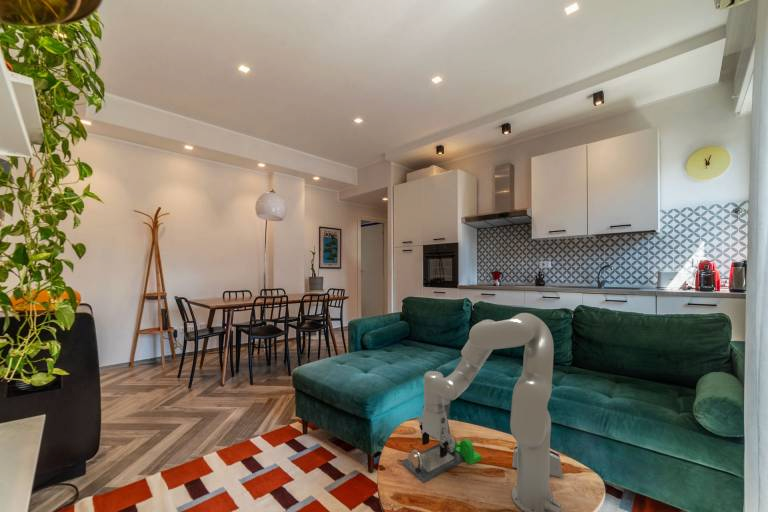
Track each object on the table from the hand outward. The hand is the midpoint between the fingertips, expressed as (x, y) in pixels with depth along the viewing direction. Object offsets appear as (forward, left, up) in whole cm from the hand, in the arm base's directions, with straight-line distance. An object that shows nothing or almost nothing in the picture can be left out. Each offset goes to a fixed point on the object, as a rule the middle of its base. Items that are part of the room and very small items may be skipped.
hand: (434, 449), depth 124 cm
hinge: (-25, -28, -6) cm, 38 cm away
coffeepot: (+13, -15, -5) cm, 21 cm away
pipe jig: (0, 0, -5) cm, 5 cm away
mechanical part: (-3, -14, -6) cm, 15 cm away
